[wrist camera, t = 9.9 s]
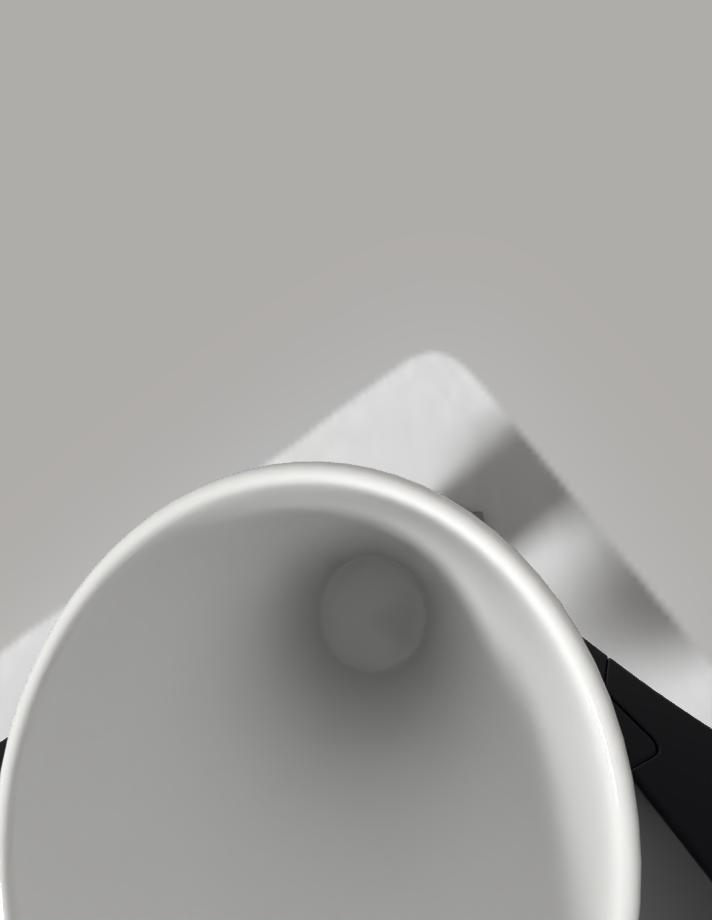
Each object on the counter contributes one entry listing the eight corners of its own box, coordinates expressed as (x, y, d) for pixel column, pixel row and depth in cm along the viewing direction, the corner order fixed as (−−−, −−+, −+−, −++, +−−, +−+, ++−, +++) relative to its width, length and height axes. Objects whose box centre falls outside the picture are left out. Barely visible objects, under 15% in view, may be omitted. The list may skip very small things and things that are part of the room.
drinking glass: (400, 718, 17) (425, 1655, 2) (279, 629, 18) (-151, 875, 4) (472, 584, 18) (774, 667, 4) (352, 511, 19) (226, 363, 5)
